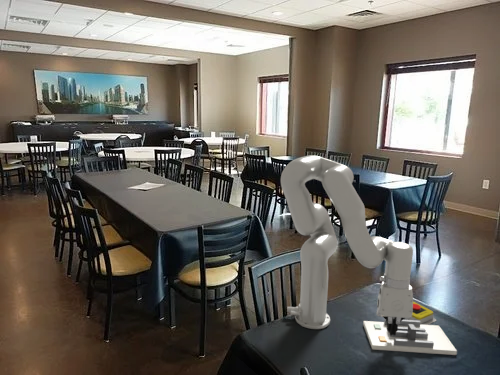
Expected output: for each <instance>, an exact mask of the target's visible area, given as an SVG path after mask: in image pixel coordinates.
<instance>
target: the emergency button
mask: <svg viewBox="0 0 500 375" xmlns="http://www.w3.org/2000/svg"><path fill="white" fill-rule="evenodd" d="M406 320H417V321H420V322H421V323H420V324H422V325H432V324H433V323H435V322H437V319H436V318H435V317H434V311H433V310H431V309H429V308H427V307H425V306H423V305H422V304H419V303H418V302H415V301H414V300H413V313H412V316H411V318H407V319H406Z"/></svg>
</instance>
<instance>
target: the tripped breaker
mask: <svg viewBox="0 0 500 375" xmlns="http://www.w3.org/2000/svg"><path fill="white" fill-rule="evenodd" d="M415 338H416V328H415V326H414V325H413V324H408V331H407V339H408V340H415Z"/></svg>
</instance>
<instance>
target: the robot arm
mask: <svg viewBox="0 0 500 375" xmlns="http://www.w3.org/2000/svg"><path fill="white" fill-rule="evenodd" d="M280 175H281V176H280V186H281V189H282V192H283V195H284V197H285V200H286V203H287V206H288V210H289V213H290V215H291V219H292V221H293V225H294V227H295V230H296V231H297V232H298V233H299V234H300V235H302V236H310V237H309V238H308V239H307V240H305V241H304V243H303V244H302V245H301V248H300V252H299V253H300V254H299V256H300V264H301V265H300V266H301V267H300V268H301V272H300V273H301V277H300V295H299V296H300V300H299V303H298V306H286V307H287V308H286V309H287V310H286V312H287V313H290V315H291V316H294V318H295V322H296V323H297V324H299V326H301V327H304V328H306V329H311V330H321V329H322V330H323V329H325V328H326V327H328V326H330V323H331V317H330V315H329V314H328V313H327V306H328V304H327V302H328V290H329V267H328V261H329V259H330V258H331V256H332V255H333V254H334V253H335V251H336V250H337V248H338V240H337V236H336V232H335V230H334V227H333V224H332V220H331V217H330V215H329V212H328V210H327V209H326V208H325V206H323V205H322V204H320V203H316V202H313V200H312V196H311V194H310V192H309V190H308V188H307V187H306V183H307V182H309V181H312V180H317V181H319V182H321V184H322V187H323V189H324V190H325V193H326V194H327V196H328V198H329V199H330V201H331V203H332V204H333V207H334V208H335V209H336V212H337V213H338V214H337V215H338V216H339V217H340V220H341V226H342V229H343V232H344V235H345V239H346V241H347V244H348V245H349V248H350V249H351V251H352V253H353V255H354V257H355V258H356V259H357V261H358V262H359V263H360V264H361V265H362V266H363V267H365V268H367V269H374V268H377V267H379V266H380V265H381V264H382V263H383V261H384V262H385V269H384V274H383V275H382V276H379V281H380V282H381V284H380V287H379V291H378V296H377V303H376V308H377V309H376V312H375V314H376V317H379V318H385V320H386V321H387V331H389V333H390V335H396V332H397V330H398V324H400V322H401V321H402V320H408V319H407V318H411V316H412V313H413V301H414V294H413V287H412V286H411V285H410V283H411V273H412V266H413V265H412V264H413V256H414V248H413V247H412V246H411V245H410V243H409V244H408V243H406V242H402V241H393V240H389V239H387V238H386V237H385V238H384V237H382V236H375V235H374V236H371V235H370V233H369V229H368V226H367V223H366V208H365V205H364V203H363V201H362V199H361V197H360V196H359V194H358V193H357V192H358V191H356V189H355V187H354V185H353V182H354V178H355V177H354V176H355V175H354V173H353V170H352V169H351V168H350V167H348V166H347V165H345V164H342V163H340V162H337V161H334V160H331V159H328V158H326V157H325V158H324V157H322V156H318V155H314V154H313V155H311V154H309V155H305V156H301V157H297V158H295V159H293V160H291V161H290V162H288V164H287V165H286V166H285V167H284V169H283V170H282V172H281V174H280ZM392 317H394V319H392Z"/></svg>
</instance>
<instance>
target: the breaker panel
mask: <svg viewBox="0 0 500 375" xmlns="http://www.w3.org/2000/svg"><path fill="white" fill-rule="evenodd" d="M420 323H421V322H420V321H417V320H408V319H403V320H402V321H401V322H400V324H398V330H397V332H396V335H390V333H389V331H387V321H386V320H385V318H384V320H383V321H372V320H369V321H368V320H363V324H362V325H363V327H364V331H365V333H366V336H367V339H368V343H369V344H370V347H371V350H378V351H392V352H404V353H405V352H407V353H421V354H435V355H436V354H437V355H449V356H450V355H452V356H456V355H457V354H458V350H457V348H455V346H454V345H453V343H452V342H451V341H450V339H449V338H448V336H447V335H446V333H445V332H444V330H443V329H442V328H441V327H440V325H435V324H429V325H422V324H420ZM408 324H413V325H414V326H415V328H416V338H415V340H408V339H407V331H408Z"/></svg>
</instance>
